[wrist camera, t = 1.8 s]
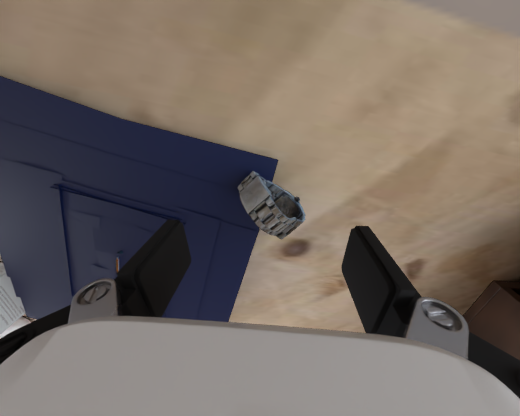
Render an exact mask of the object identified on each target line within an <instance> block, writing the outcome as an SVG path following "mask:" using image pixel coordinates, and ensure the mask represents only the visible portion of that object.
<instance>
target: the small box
mask: <svg viewBox="0 0 520 416" xmlns="http://www.w3.org/2000/svg"><path fill="white" fill-rule="evenodd" d="M24 314H25V310H24V307H23V304H22V301H21V298H20V297H16V294H15V291H14V288H13V285H12V282H11V279H10V277H7V274H6V271H5V268H4V264H3V263H2V262H0V334H1V333H3V332H4V331H5V330H6V329H7V328H8V327H10V326H11V325H12V324H13V323H14V322H15V321H17V320H18V319H19V318H20V317H21V316H23V315H24Z"/></svg>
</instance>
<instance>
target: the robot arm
mask: <svg viewBox="0 0 520 416" xmlns="http://www.w3.org/2000/svg"><path fill="white" fill-rule="evenodd" d="M190 264H191V255H190V251H189V246H188V242H187V238H186V234H185V230H184V226H183V223H181V222H180V221H179V220H167V221H166V222H165V223H164V224H163V225H162V226H161V227H160V228H159V229H158V230H157V231H156V232H155V233H154V234H153V235H152V236H151V238H150V239H149V240H148V241H147V242H146V243H145V244H144V245H143V246H142V247H141V248H140V249H139V250H138V251H137V252H136V253H135V254H134V255H133V256H132V257H131V259H130V260H129V261H128V262H127V263H126V264H125V265H124V266H123V267H122V268H121V269H120V270H119V271H118V272H117V273H116V275H117V277H116V278H115V279H114V280H113V279H111V278H102V279H99V280H95V281H93V282H91V283H89V284H87V285H86V286H84V287H83V288H81V289H80V290H79V291H78V292H77V293H76V294H75V296H74V297H73V299H72V302H71V305H69V306H67V307H64V308H62V309H60V310H58V311H56V312H53V313H51V314H49V315H47V316H45V317H42V318H40V319H38V320H36V321H34V322H31V323H29V324H27V325H25V326H23V327H20V328H18V329H16V330H14V331H12V332H10V333H9V334H7V335H5V336H4V337H2V338H1V339H0V416H520V360H518V359H517V358H515V357H513V356H511V355H510V354H508V353H506V352H504V351H503V350H501V349H499V348H497V347H496V346H494V345H492V344H490V343H489V342H487V341H485V340H483V339H482V338H480V337H478V336H476V335H475V334H473V333H471V332H469V328H468V324H467V322H466V320H465V319H464V317H463V316H462V315H461V314H460V313H459V312H458V311H457V310H455V309H454V308H453V307H451V306H450V305H448V304H446V303H445V302H443V301H440V300H438V299H435V298H431V297H421V296H420V294H419V293H418V292H417V290H416V289H415V288H414V286H413V285H412V284H411V282H410V281H409V280H408V278H407V277H406V276H405V274H404V273H403V272H402V270H401V269H400V268H399V266H398V265H397V264H396V262H395V261H394V260H393V258H392V257H391V256H390V254H389V253H388V252H387V250H386V249H385V248H384V246H383V245H382V244H381V242H380V241H379V240H378V238H377V237H376V236H375V234H374V233H373V232H372V230H371V229H370V228H369V227H368V226H356V227H355V228H354V229H351V232H350V236H349V240H348V244H347V248H346V251H345V255H344V259H343V263H342V273H343V275H344V278H345V280H346V283H347V285H348V288H349V291H350V293H351V296H352V298H353V301H354V303H355V306H356V309H357V311H358V314H359V316H360V319H361V321H362V324H363V327H364V329H365V332H366V333H358V332H348V331H337V330H324V329H312V328H299V327H287V326H274V325H260V324H247V323H233V322H220V321H205V320H191V319H176V318H161V317H162V315H163V314H164V312H165V310H166V308H167V306H168V304H169V302H170V301H171V299H172V297H173V295H174V293H175V291H176V290H177V288H178V286H179V284H180V282H181V280H182V279H183V277H184V275H185V273H186V271H187V269H188V268H189V266H190Z"/></svg>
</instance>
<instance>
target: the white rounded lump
mask: <svg viewBox="0 0 520 416" xmlns="http://www.w3.org/2000/svg"><path fill="white" fill-rule="evenodd" d="M29 323H31V322H30V321H29V320H28V319H26V318H24V317H20V318H19V319H18V320H17V321H15V322H14V323H13V324H12V325H11V326H10V327H8V328H7V329H6V330H5V331H4V332H3V333H1V334H0V337H1V338H2V337H4V336H5V335H7V334H9V333H10V332H12V331H14V330H16V329H18V328H20V327H23V326H25V325H27V324H29Z"/></svg>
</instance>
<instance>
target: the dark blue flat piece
mask: <svg viewBox="0 0 520 416" xmlns="http://www.w3.org/2000/svg"><path fill="white" fill-rule="evenodd" d="M277 162H278V160H277V159H273V158H269V157H265V156H261V155H257V154H254V153H250V152H246V151H242V150H238V149H235V148H231V147H227V146H223V145H219V144H215V143H212V142H208V141H204V140H200V139H196V138H193V137H189V136H185V135H181V134H177V133H173V132H170V131H166V130H162V129H158V128H154V127H151V126H147V125H143V124H139V123H135V122H131V121H128V120H124V119H120V118H118V117H115V116H112V115H109V114H106V113H103V112H101V111H98V110H95V109H92V108H89V107H86V106H84V105H81V104H78V103H75V102H72V101H69V100H67V99H64V98H61V97H58V96H55V95H52V94H50V93H47V92H44V91H41V90H38V89H35V88H32V87H30V86H27V85H24V84H21V83H18V82H15V81H13V80H10V79H7V78H4V77H1V76H0V255H1V258H2V261H3V264H4V268H5V271H6V274H7V277H10V279H11V282H12V285H13V288H14V291H15V294H16V297H20V298H21V301H22V304H23V307H24V310H25V313H26V316H27V317H30V318H35V319H37V320H38V319H40V318H42V317H45V316H47V315H49V314H51V313H53V312H56V311H58V310H60V309H62V308H64V307H67V306H69V305H71V302H72V299H73V297H74V296H75V294H76V293H77V292H78V291H79V290H80V289H81V288H83V287H84V286H86V285H87V284H89V283H91V282H93V281H95V280H99V279H102V278H111V279H113V280H114V279H115V278H116V277H117V275H116V273H117V272H118V271H119V270H120V269H121V268H122V267H123V266H124V265H125V264H126V263H127V262H128V261H129V260H130V259H131V257H132V256H133V255H134V254H135V253H136V252H137V251H138V250H139V249H140V248H141V247H142V246H143V245H144V244H145V243H146V242H147V241H148V240H149V239H150V238H151V236H152V235H153V234H154V233H155V232H156V231H157V230H158V229H159V228H160V227H161V226H162V225H163V224H164V223H165V222H166V221H167V220H179V221H180V222H181V223H183V226H184V230H185V234H186V238H187V242H188V246H189V251H190V255H191V264H190V266H189V268H188V269H187V271H186V273H185V275H184V277H183V279H182V280H181V282H180V284H179V286H178V288H177V290H176V291H175V293H174V295H173V297H172V299H171V301H170V302H169V304H168V306H167V308H166V310H165V312H164V314H163V315H162V317H161V318H176V319H191V320H205V321H220V322H228V320H229V318H230V315H231V312H232V309H233V306H234V303H235V300H236V297H237V294H238V291H239V288H240V285H241V282H242V279H243V276H244V273H245V270H246V267H247V264H248V261H249V258H250V255H251V252H252V249H253V246H254V243H255V240H256V237H257V235H258V232H259V227H258V226H257V225H256V223H255V222H254V221H253V219H252V218H251V217H250V216H249V214H247V212H246V210H245V209H244V207H243V205H242V202H241V200H240V193H239V190H238V186H239V185H240V184H241V183H242V181H243V180H244V179H245V178H246V177H248V176H249V175H250V174H251V172H252V171H254V172H257V173H258V174H259V176H261V177H263V178H264V179H265V180H266V181H268V180H269V181H271V182H272V180H273V176H274V173H275V169H276V166H277Z"/></svg>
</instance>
